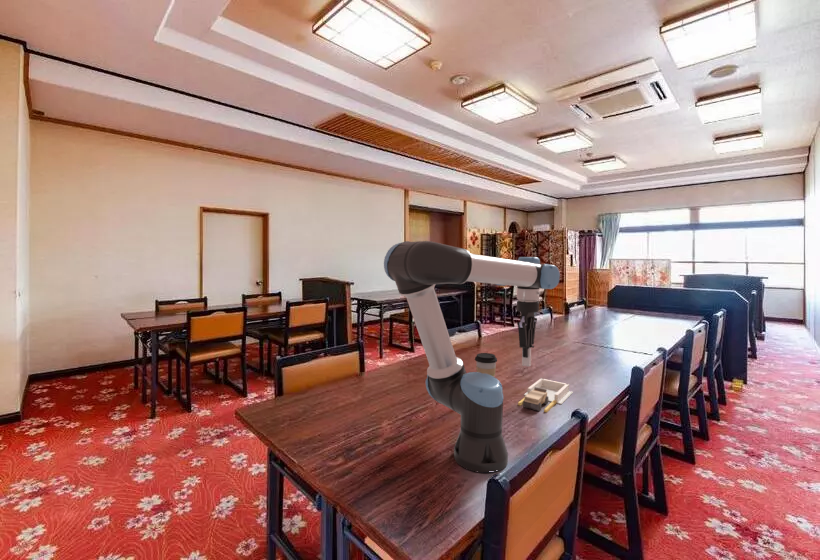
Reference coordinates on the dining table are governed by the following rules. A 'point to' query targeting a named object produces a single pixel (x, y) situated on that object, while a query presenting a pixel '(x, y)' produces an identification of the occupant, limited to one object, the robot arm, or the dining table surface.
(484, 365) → the coffee cup
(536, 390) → the two-tone toy block
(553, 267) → the robot arm
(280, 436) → the dining table surface
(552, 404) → the dock
